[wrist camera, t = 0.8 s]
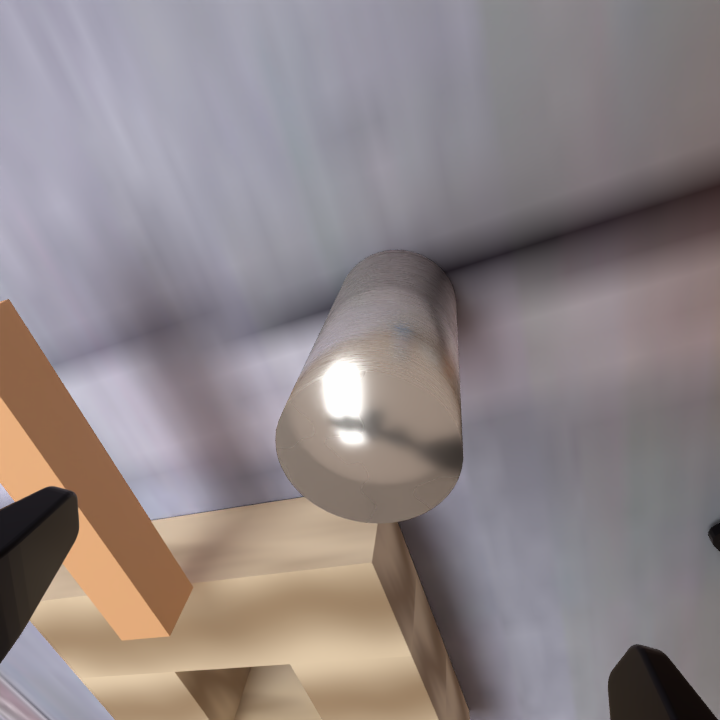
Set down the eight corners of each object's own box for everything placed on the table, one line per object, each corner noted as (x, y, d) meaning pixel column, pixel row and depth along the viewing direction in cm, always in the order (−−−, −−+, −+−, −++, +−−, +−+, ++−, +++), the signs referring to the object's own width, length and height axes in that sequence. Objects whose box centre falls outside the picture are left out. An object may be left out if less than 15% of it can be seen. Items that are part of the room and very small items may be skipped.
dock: (469, 711, 29) (472, 799, 25) (209, 720, 33) (182, 797, 30) (383, 484, 22) (371, 562, 19) (71, 532, 26) (15, 603, 23)
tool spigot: (481, 307, 18) (504, 460, 11) (398, 378, 20) (372, 549, 13) (395, 224, 17) (360, 333, 10) (315, 306, 19) (239, 448, 12)
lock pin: (193, 587, 20) (169, 636, 18) (148, 592, 21) (121, 640, 19) (8, 299, 15) (-48, 328, 13) (-44, 315, 16) (-105, 346, 14)
